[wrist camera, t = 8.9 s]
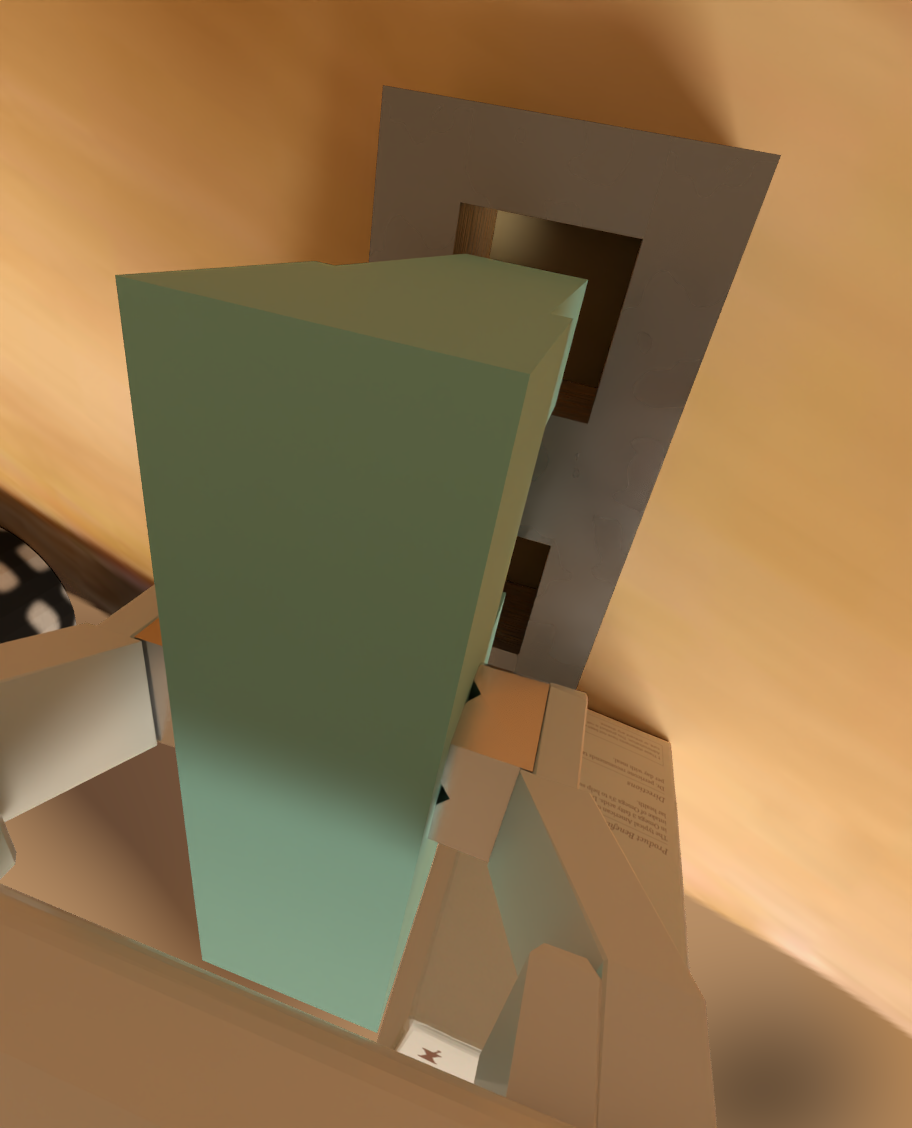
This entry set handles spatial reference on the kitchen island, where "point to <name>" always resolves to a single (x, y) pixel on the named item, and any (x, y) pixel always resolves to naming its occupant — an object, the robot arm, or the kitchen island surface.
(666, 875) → the supplement box
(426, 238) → the gray socket base
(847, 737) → the kitchen island surface
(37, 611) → the white-spotted black cylinder
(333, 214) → the kitchen island surface
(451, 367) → the green u-shaped block
